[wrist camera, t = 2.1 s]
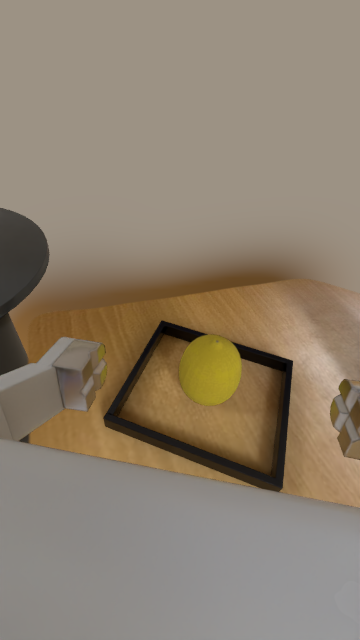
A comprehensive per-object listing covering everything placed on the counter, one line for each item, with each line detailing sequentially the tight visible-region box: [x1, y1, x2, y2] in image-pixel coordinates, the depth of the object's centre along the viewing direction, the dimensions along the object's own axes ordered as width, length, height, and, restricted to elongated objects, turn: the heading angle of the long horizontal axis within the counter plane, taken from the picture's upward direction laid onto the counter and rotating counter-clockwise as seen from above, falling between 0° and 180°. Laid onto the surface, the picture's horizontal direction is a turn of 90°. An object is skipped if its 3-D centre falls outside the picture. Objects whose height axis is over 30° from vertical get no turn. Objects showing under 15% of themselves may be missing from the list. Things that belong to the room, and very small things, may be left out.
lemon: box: [179, 335, 242, 406], centre depth 26 cm, size 6×6×8 cm
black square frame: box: [104, 321, 293, 492], centre depth 28 cm, size 15×13×2 cm
